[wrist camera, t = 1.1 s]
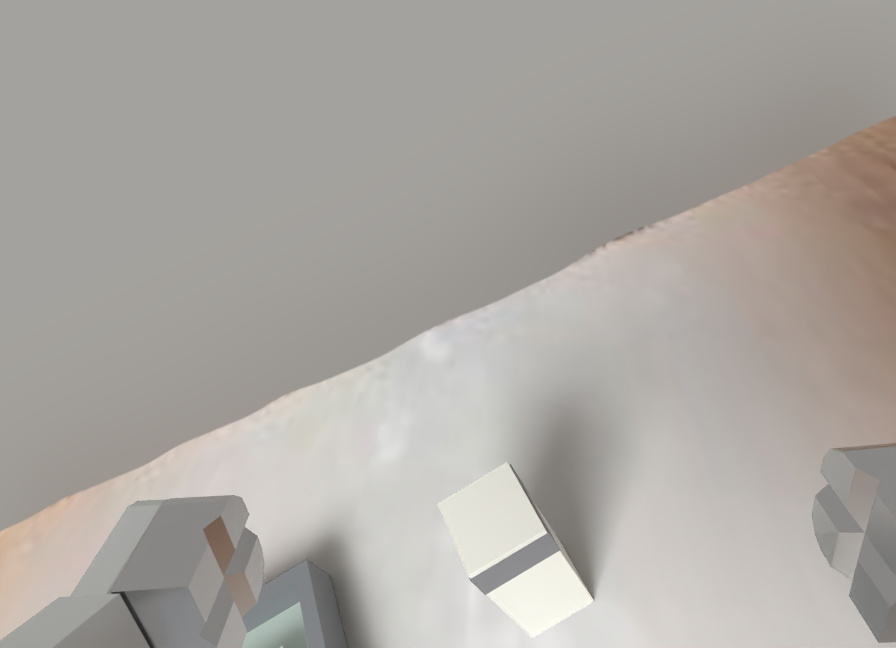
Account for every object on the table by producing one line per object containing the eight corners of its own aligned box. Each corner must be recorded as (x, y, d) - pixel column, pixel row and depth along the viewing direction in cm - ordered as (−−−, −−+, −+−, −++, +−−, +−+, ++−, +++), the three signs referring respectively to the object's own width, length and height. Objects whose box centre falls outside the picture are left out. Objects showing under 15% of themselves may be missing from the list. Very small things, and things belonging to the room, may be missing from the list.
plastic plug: (559, 539, 38) (507, 460, 31) (595, 601, 35) (546, 529, 28) (501, 574, 38) (435, 503, 31) (531, 639, 35) (467, 577, 28)
